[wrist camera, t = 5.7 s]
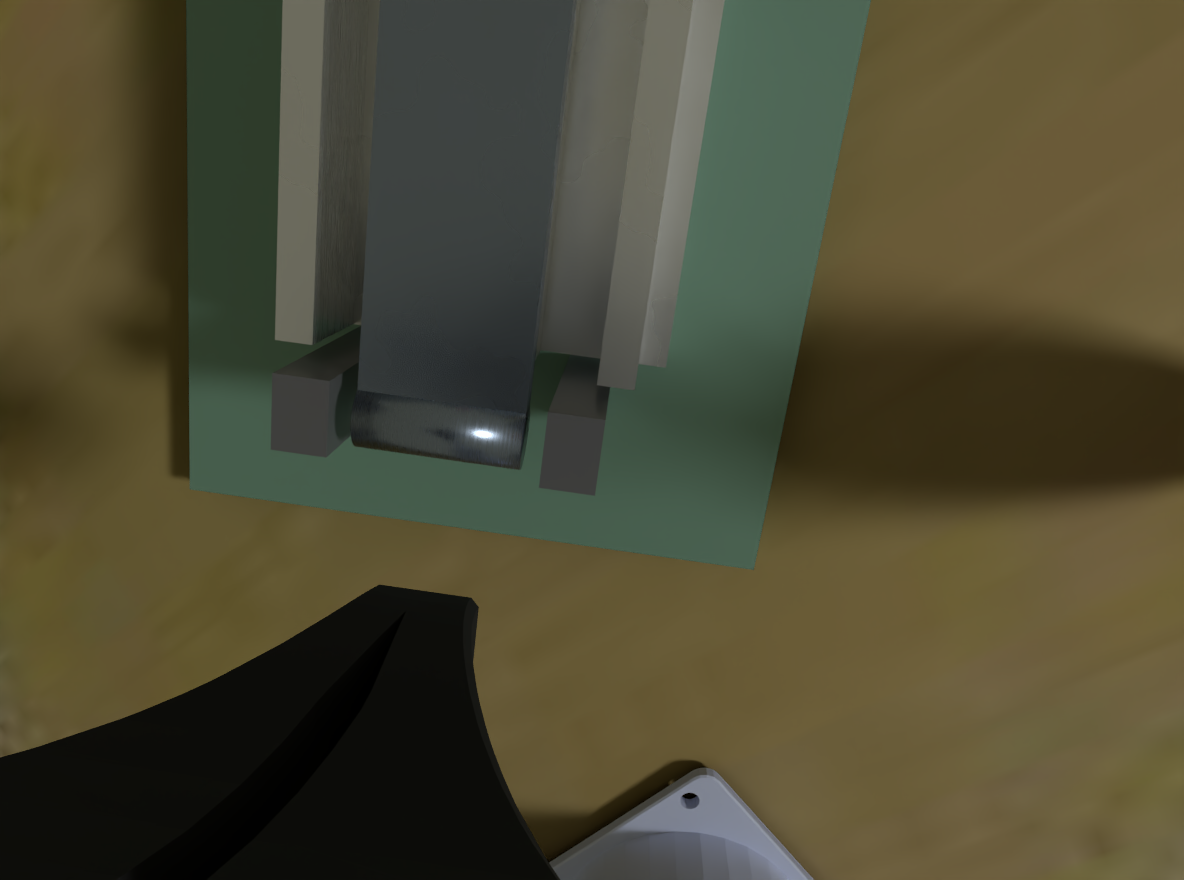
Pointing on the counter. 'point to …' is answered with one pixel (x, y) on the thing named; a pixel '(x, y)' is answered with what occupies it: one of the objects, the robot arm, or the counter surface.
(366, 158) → the heat sink
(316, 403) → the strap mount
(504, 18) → the metal bar
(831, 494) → the counter surface
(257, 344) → the motherboard
